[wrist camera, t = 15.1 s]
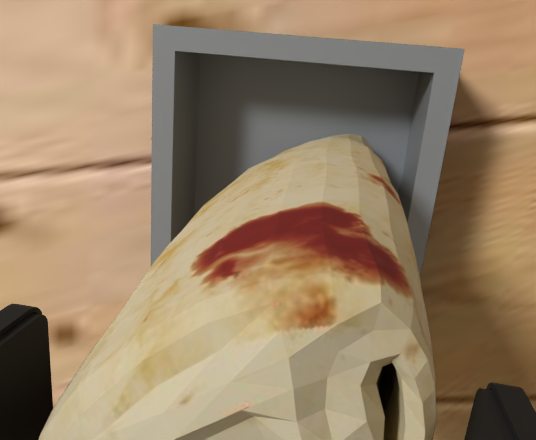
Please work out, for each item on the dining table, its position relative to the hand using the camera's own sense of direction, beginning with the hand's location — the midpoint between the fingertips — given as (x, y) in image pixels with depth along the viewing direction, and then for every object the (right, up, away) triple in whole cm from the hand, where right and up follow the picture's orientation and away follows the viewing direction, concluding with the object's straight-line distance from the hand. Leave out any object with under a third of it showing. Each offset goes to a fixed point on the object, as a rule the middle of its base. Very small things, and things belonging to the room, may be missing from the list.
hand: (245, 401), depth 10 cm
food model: (+2, +5, +16) cm, 17 cm away
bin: (+2, +5, +17) cm, 18 cm away
